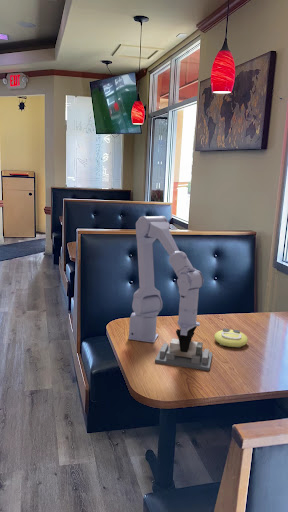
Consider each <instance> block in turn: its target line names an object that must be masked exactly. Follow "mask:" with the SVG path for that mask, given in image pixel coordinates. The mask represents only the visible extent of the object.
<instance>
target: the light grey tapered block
mask: <svg viewBox="0 0 288 512" xmlns="http://www.w3.org/2000/svg"><path fill="white" fill-rule="evenodd" d="M203 344H204V343H203V342H201V341H200V342H199V341H194V340H191V341H190V345H189V349H188V352H187V353H186V352H181V350H180V343H179V339H178V338H173V337H172V338H171V340H170V343H169V346H170V351H169V352H175V356H182V357H188V358H192V355H196V356H200V359H201V355H202V351H203V349H202V347H203Z"/></svg>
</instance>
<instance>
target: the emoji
mask: <svg viewBox="0 0 288 512" xmlns="http://www.w3.org/2000/svg"><path fill="white" fill-rule="evenodd" d="M213 338H214V340H215V341H216V342H217V343H219V345H220V346H225V347H229V348H241V347H243V346H245V345H247V343H248V342H249V338H248V336H247V335H246V334H245V333H243V332H241V331H240V330H238V329H229V328H222V329H221V330H218V331H216V332H215V333H214V335H213Z"/></svg>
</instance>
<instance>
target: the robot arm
mask: <svg viewBox="0 0 288 512" xmlns="http://www.w3.org/2000/svg"><path fill="white" fill-rule="evenodd" d="M170 227H171V224H170V223H169V221H168V219H167V217H166V216H164V215H159V216H157V215H155V216H154V215H153V216H152V215H151V216H148V215H147V216H146V215H144V216H143V215H142V216H140V217H138V220H137V221H136V222H135V236H136V239H135V240H136V243H137V244H136V245H137V262H138V263H137V265H138V281H139V282H138V283H139V284H138V285H139V288H138V289H137V290H136V291H135V292H134V293H133V297H132V298H133V299H132V302H131V306H132V307H131V309H132V311H133V312H132V313H131V314H130V317H129V324H128V325H129V327H128V329H129V330H128V340H131V341H138V342H139V341H140V342H146V343H153V344H154V343H155V342H156V340H157V338H158V336H159V333H157V321H158V315H159V313H160V312H161V310H162V309H163V300H162V297H161V291H160V290H159V289H157V288H156V286H155V270H154V269H155V268H154V252H153V251H154V249H153V243H154V242H155V241H156V239H158V241H159V242H160V244H161V245H162V246H163V248H164V249H165V251H166V252H167V254H168V256H169V259H168V262H169V264H170V266H171V267H172V269H173V271H174V273H175V275H176V277H177V279H176V284H177V287H178V293H179V307H178V318H177V319H178V320H177V323H176V324H177V326H178V327H179V329H178V328H177V329H176V331H175V334H176V336H177V339H179V343H180V350H181V352H186V353H187V352H188V349H189V345H190V341H192V339H193V337H194V335H195V330H196V329H197V327H200V325H201V322H199V321H197V317H198V305H199V291H200V289H201V288H202V286H203V285H204V282H205V280H204V276H203V273H202V272H201V271H200V270H198V269H196V267H193V265H192V263H191V261H190V259H189V258H188V255H187V254H186V252H184V251H182V250H181V251H180V249H179V247H178V245H177V244H176V241H175V240H174V237H173V235H172V234H171V231H170Z"/></svg>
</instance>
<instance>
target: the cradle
mask: <svg viewBox="0 0 288 512" xmlns="http://www.w3.org/2000/svg"><path fill="white" fill-rule="evenodd" d="M169 351H170V343H166V342H163V345H161V347H160V349H159V351H158V353H157V355H156V357H155V359H154V363H156V364H161V365H167V366H168V365H169V366H175V367H182V368H187V369H196V370H201V371H208V372H210V368H211V363H212V359H213V352H210V349H208V348H204V351H203V346H202V355H201V359H200V356H196V355H192V358H188V357H182V356H175V352H169Z"/></svg>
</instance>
